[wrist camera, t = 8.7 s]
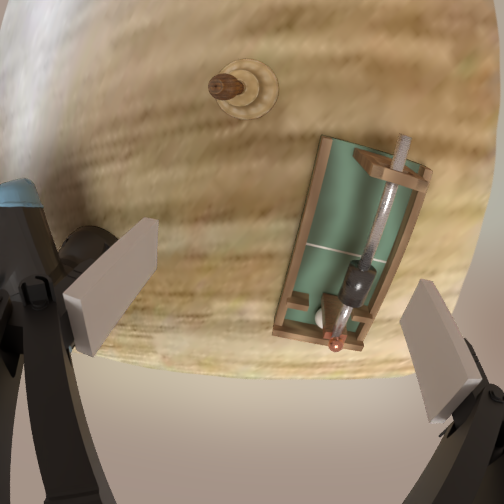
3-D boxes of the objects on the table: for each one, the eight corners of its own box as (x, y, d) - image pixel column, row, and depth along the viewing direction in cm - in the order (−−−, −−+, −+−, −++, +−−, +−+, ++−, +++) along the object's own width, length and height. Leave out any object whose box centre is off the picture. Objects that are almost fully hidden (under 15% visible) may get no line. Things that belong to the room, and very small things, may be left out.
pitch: (274, 317, 52) (266, 371, 42) (321, 134, 38) (330, 148, 27) (358, 333, 52) (366, 386, 41) (424, 165, 37) (463, 191, 27)
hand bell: (291, 97, 36) (287, 95, 22) (238, 131, 39) (203, 151, 25) (254, 47, 34) (228, 17, 20) (202, 82, 37) (149, 77, 23)
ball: (320, 302, 46) (314, 306, 50) (316, 325, 45) (311, 328, 48) (341, 307, 46) (335, 311, 49) (338, 329, 45) (331, 332, 48)
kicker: (318, 301, 48) (321, 352, 38) (372, 123, 35) (398, 133, 25) (339, 305, 47) (346, 357, 38) (396, 131, 35) (430, 144, 25)
